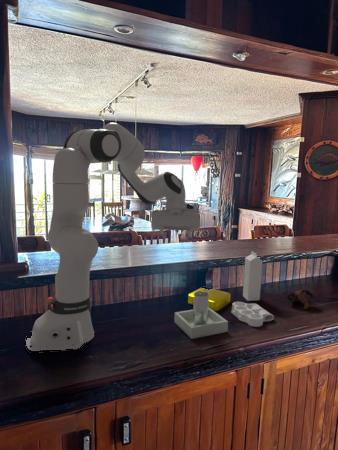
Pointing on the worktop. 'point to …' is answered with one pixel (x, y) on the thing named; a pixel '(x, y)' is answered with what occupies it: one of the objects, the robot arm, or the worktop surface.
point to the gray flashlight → (200, 308)
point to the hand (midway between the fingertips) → (175, 237)
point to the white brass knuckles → (251, 313)
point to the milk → (252, 277)
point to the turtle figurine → (301, 297)
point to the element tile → (213, 298)
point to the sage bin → (213, 327)
